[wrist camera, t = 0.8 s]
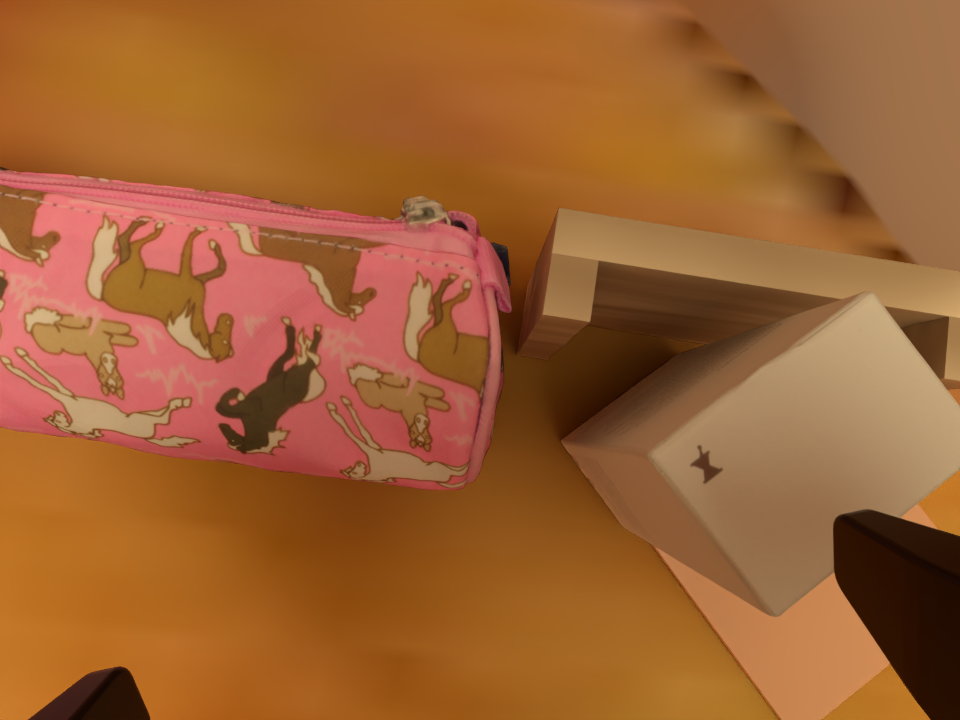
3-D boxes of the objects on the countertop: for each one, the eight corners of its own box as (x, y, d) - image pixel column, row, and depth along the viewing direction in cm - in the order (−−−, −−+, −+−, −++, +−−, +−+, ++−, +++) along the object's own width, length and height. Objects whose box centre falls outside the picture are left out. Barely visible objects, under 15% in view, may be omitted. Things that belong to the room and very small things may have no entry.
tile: (970, 584, 24) (983, 587, 24) (788, 731, 24) (796, 739, 23) (822, 392, 25) (831, 391, 24) (640, 531, 24) (645, 533, 24)
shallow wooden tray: (804, 400, 25) (991, 385, 16) (517, 354, 25) (542, 314, 16) (811, 330, 25) (999, 277, 16) (527, 285, 25) (558, 208, 16)
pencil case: (514, 253, 26) (536, 162, 17) (485, 486, 25) (494, 518, 16) (-17, 187, 26) (-273, 60, 17) (-66, 417, 25) (-366, 411, 16)
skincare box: (623, 531, 24) (770, 631, 12) (557, 440, 25) (638, 452, 13) (747, 437, 25) (1004, 447, 13) (680, 349, 25) (870, 278, 13)
